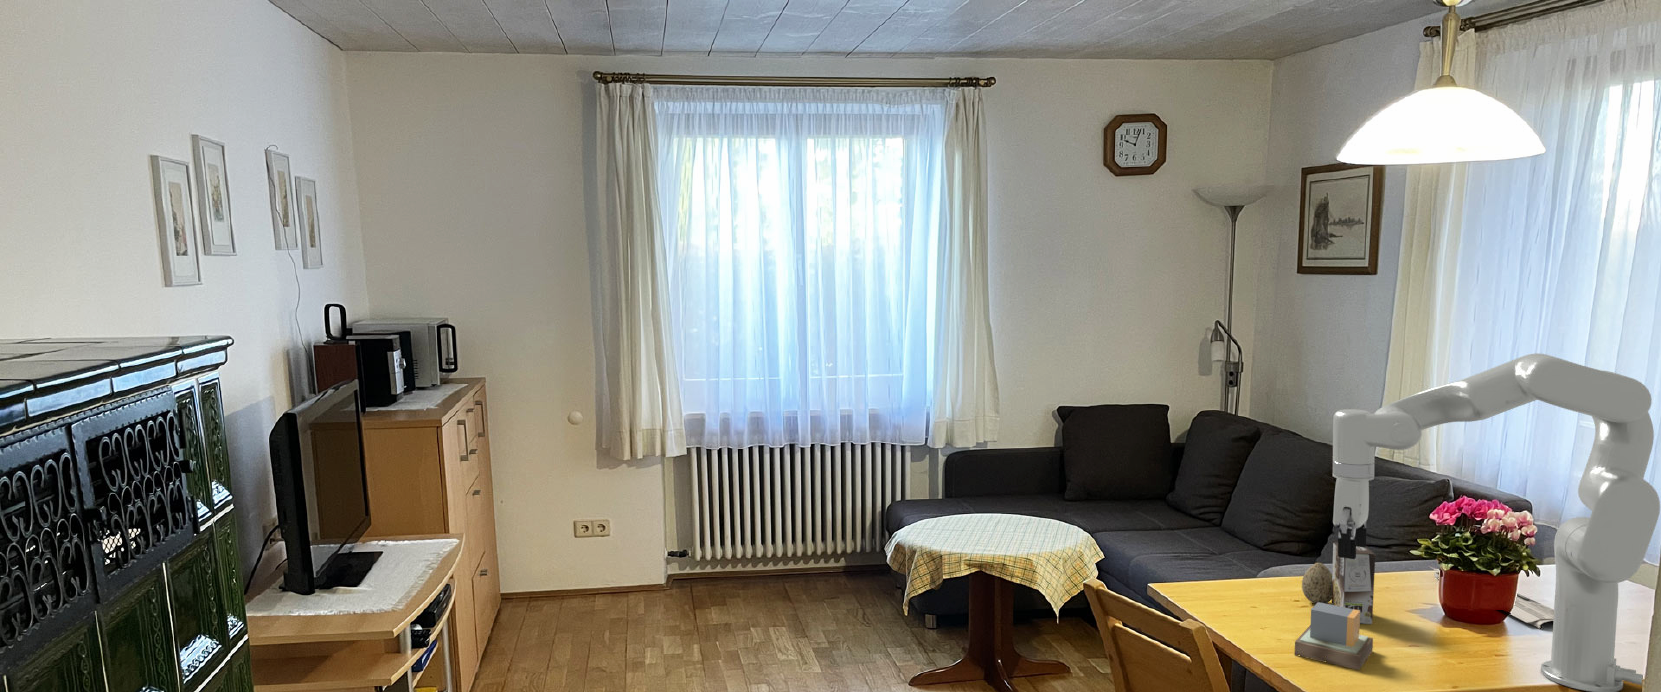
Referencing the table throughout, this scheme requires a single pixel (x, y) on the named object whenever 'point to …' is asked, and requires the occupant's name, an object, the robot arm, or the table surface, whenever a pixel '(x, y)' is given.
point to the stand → (1334, 650)
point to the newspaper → (1527, 609)
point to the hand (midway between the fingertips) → (1352, 551)
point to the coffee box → (1354, 582)
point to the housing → (1335, 624)
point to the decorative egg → (1317, 584)
